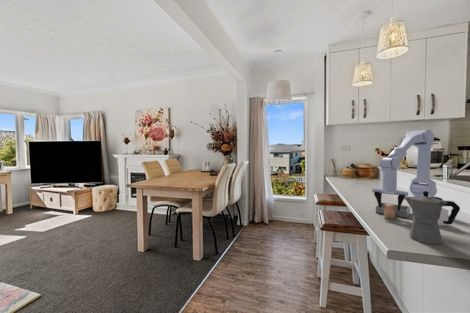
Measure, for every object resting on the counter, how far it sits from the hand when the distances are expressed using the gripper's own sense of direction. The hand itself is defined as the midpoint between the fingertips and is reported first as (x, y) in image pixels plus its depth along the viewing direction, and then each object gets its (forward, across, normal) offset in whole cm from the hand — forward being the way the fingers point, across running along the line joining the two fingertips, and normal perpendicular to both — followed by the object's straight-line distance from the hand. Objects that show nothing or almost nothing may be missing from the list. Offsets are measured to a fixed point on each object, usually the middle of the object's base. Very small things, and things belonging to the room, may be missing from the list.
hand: (389, 208), depth 106 cm
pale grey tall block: (+4, +16, +3) cm, 17 cm away
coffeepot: (+5, +16, -24) cm, 29 cm away
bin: (+4, 0, +10) cm, 10 cm away
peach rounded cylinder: (+4, 0, 0) cm, 4 cm away
